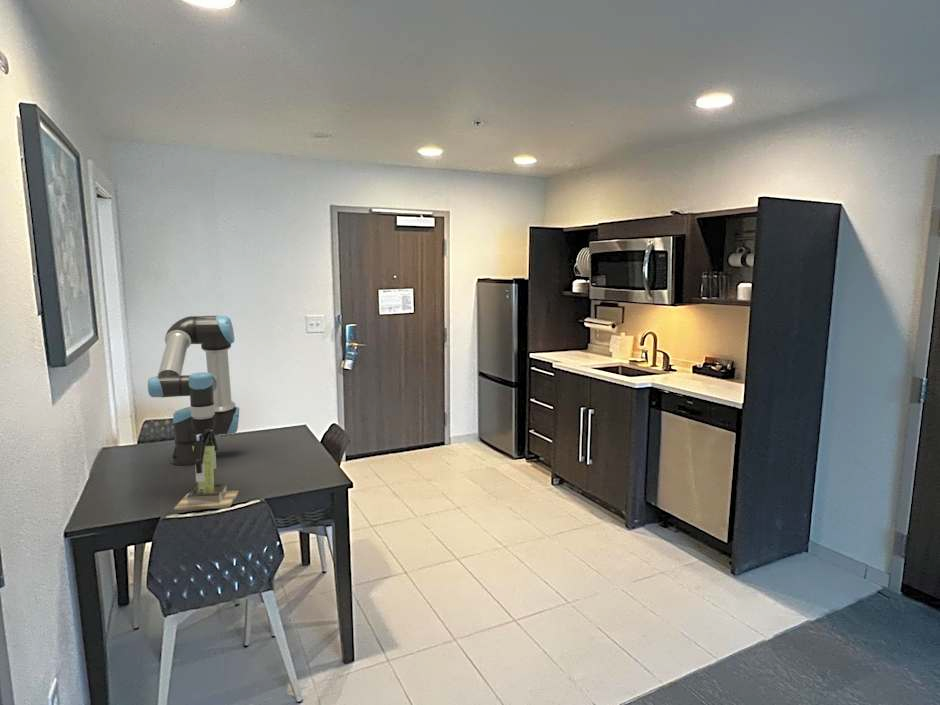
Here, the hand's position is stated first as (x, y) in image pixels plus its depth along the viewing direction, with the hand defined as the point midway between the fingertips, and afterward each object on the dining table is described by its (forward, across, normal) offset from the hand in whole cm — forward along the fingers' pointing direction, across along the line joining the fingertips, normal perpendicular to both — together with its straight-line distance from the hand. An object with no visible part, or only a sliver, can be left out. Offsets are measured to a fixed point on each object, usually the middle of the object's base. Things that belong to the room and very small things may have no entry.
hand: (206, 474), depth 207 cm
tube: (+9, 0, 0) cm, 9 cm away
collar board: (+10, 0, 0) cm, 10 cm away
